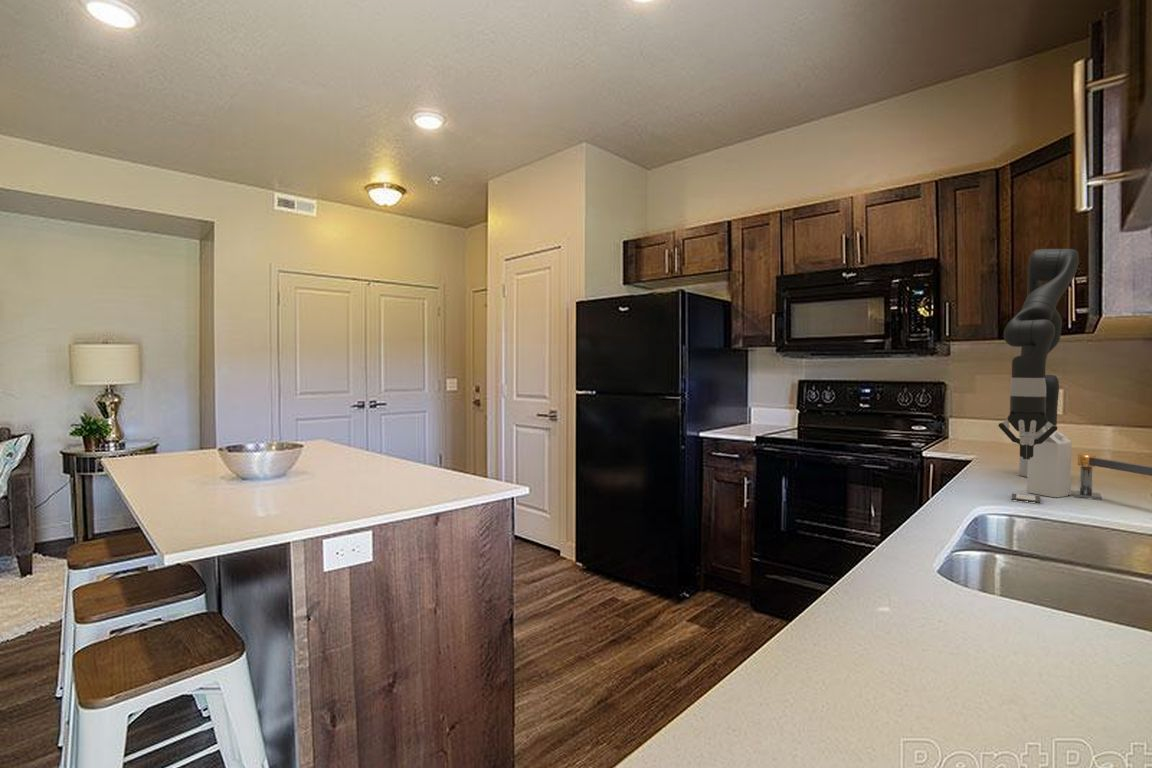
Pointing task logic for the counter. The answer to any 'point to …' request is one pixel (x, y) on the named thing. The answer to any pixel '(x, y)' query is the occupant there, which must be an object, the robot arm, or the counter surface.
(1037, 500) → the label plate
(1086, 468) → the pivot post
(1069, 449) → the milk carton
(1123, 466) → the swing arm
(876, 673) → the counter surface
